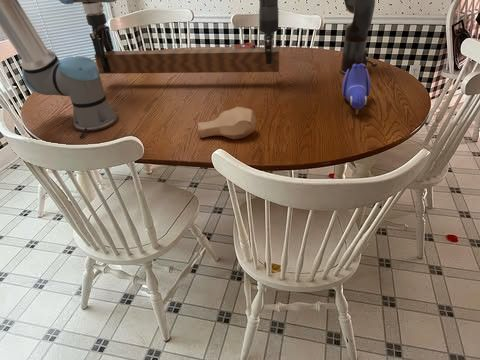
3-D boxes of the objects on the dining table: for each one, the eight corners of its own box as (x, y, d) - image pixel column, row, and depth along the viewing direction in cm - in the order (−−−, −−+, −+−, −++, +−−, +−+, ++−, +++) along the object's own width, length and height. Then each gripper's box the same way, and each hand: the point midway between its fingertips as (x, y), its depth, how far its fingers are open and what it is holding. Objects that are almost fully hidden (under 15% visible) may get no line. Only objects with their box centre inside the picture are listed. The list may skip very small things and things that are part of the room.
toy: (340, 103, 144) (343, 119, 122) (342, 60, 138) (346, 69, 115) (366, 103, 142) (373, 119, 120) (369, 59, 135) (378, 68, 113)
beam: (99, 73, 157) (94, 54, 152) (104, 69, 161) (99, 51, 156) (278, 71, 147) (279, 51, 143) (279, 67, 151) (279, 48, 147)
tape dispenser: (247, 68, 177) (266, 54, 190) (247, 57, 174) (266, 44, 186) (218, 62, 185) (238, 48, 197) (217, 52, 181) (238, 39, 194)
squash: (259, 140, 116) (255, 118, 110) (200, 150, 118) (193, 129, 112) (256, 120, 124) (253, 99, 117) (201, 130, 126) (194, 109, 119)
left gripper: (93, 18, 137) (109, 77, 150) (112, 8, 151) (125, 63, 165) (75, 18, 138) (93, 77, 151) (96, 9, 152) (110, 63, 166)
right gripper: (277, 21, 132) (277, 67, 142) (279, 13, 143) (278, 56, 153) (257, 22, 133) (258, 67, 143) (260, 14, 144) (261, 56, 154)
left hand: (110, 70), depth 158 cm, fingers closed on beam, 5 cm apart
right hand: (269, 61), depth 148 cm, fingers closed on beam, 5 cm apart
